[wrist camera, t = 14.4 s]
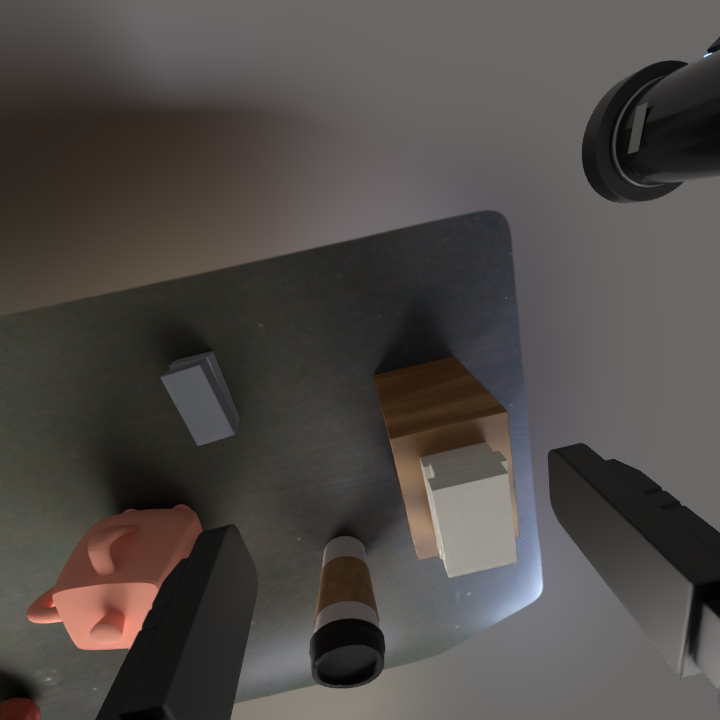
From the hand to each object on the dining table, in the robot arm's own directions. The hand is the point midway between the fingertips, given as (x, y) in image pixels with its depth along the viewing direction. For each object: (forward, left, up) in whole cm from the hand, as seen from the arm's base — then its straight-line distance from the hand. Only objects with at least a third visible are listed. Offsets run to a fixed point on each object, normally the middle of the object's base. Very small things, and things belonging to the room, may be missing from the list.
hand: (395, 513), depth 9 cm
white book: (+5, +17, -15) cm, 23 cm away
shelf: (+5, +17, -32) cm, 37 cm away
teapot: (+40, +3, -32) cm, 51 cm away
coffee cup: (+28, +24, -32) cm, 49 cm away
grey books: (+19, -5, -32) cm, 38 cm away
